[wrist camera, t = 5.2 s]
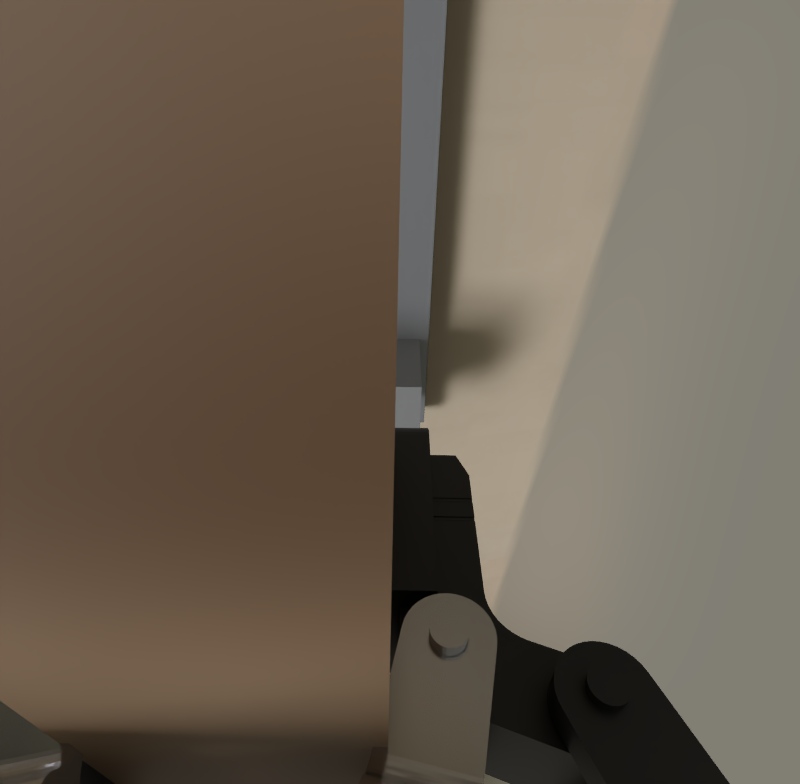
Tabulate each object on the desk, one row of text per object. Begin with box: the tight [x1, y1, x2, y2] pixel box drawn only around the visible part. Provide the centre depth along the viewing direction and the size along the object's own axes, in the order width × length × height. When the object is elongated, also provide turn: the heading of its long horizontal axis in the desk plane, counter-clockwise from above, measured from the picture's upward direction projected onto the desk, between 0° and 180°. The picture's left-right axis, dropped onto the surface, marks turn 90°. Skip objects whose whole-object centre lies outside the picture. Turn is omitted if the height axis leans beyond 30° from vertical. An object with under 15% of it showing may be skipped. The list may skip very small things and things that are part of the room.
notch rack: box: [395, 0, 447, 428], centre depth 24 cm, size 30×13×9 cm, turn 179°
